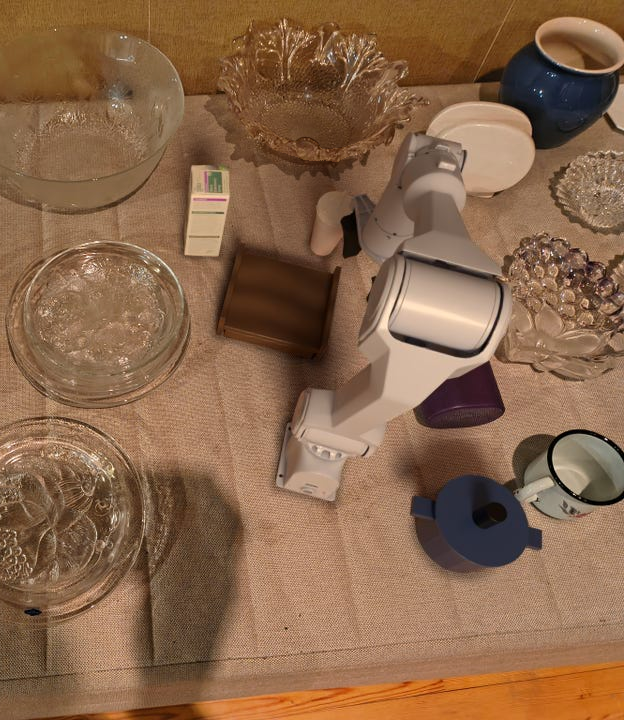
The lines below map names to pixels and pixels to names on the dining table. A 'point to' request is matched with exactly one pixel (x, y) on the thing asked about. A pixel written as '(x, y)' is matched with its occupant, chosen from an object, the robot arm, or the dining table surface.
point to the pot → (437, 545)
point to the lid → (481, 521)
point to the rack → (279, 305)
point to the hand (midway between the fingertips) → (361, 277)
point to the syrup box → (206, 209)
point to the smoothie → (329, 221)
